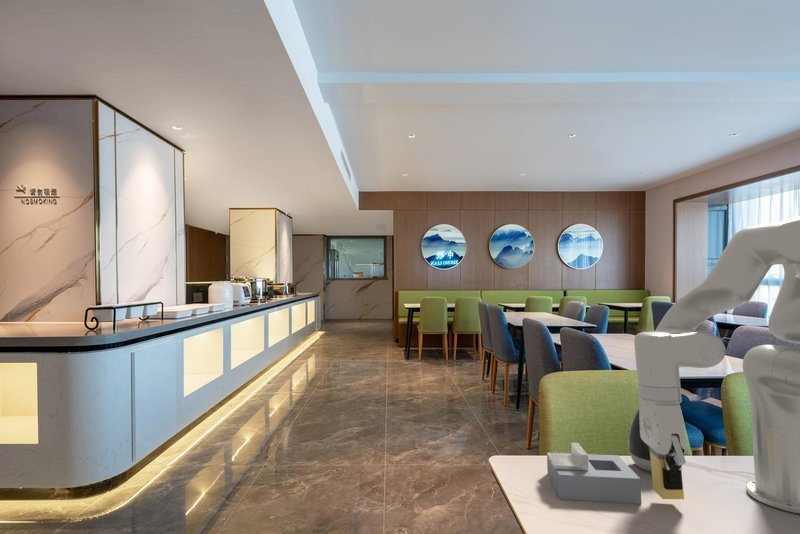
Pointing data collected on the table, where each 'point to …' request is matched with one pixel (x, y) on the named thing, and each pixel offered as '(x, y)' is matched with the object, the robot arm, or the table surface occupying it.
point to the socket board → (598, 481)
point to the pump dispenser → (638, 446)
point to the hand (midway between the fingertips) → (667, 482)
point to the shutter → (570, 459)
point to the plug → (658, 477)
